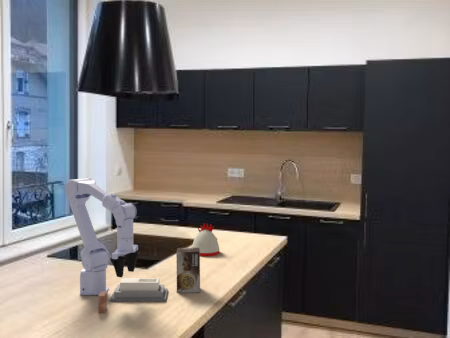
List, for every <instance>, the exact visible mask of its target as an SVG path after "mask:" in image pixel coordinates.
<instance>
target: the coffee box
mask: <svg viewBox="0 0 450 338" xmlns="http://www.w3.org/2000/svg"><path fill="white" fill-rule="evenodd" d="M175 252H176V253H175V254H176V293H178V294H179V293H181V294H182V293H201V256H200V248H192V247H177V248H176V251H175Z"/></svg>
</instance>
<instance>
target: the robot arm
mask: <svg viewBox="0 0 450 338" xmlns="http://www.w3.org/2000/svg"><path fill="white" fill-rule="evenodd" d="M64 191H65V195H66V197H67V201H68V204H69V206H70V209H71V212H72V214H73V215H72V216H73V218H74V221H75V224H76V226H77V230H78V232H79V236H80V238H81V240H82V244H83V248H82V250H81V251H80V252H79V253H80V258H81V264H82V267H83V268H82V269H81V270H80V275H79V295H80V296H89V295H90V296H97V295H98V296H99V294H100V292H101V291H107V292H108V291H109V287H108V286H107V269H108V266H109V264H110V263H112V266H113V269H114V271H115V274H116V277H117V278H124V269H125V264H126V267H127V272H131V273H132V272H134V271H135V269H136V264H137V261H138V258H139V257H140V254H141V252H140V251H138V250H139V245H138V244H134V219H135V218H136V216H137V211H138V210H137V207H136V205H135V204H133V202H128V203H127V202H126V201H125V200H123V199H121V198H120V197H118V196H117V194H116V193H107V192H106V191H105V190H104V189H102V188H101V187H100V186H99V185H97V183H96V180H94V179H93V178H92V177H86V178H77V179H75V178H74V179H69V180H67V181H66V184H65V187H64ZM91 197H94V198H95V199H97V200H98V201H100V202H102V203H101V205H102V207H104V208H105V209H106V210H107V211H109V212H110V213H112V214H113V217H114V220H115V225H116V233H117V234H116V244H117V248H116V249H115V251H114V252H112V253H111V254H110V252H109V251H108V250H107V248H106V246H105V244H103V243H101V242H99V240H98V237H97V234H96V232H95V231H96V230H95V227H94V226H93V225H94V224H93V223H92V220H91V217H90V214H89V211H88V209H87V206H86V202H88V201H89V200H90V198H91ZM124 256H125V258H123V257H124Z"/></svg>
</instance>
